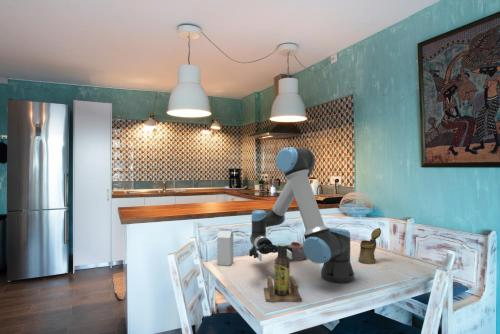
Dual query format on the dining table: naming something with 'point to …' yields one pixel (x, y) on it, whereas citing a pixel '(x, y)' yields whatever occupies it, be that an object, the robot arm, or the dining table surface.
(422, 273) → the dining table surface
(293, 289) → the walnut slotted rack
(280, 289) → the sauce bottle
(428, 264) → the dining table surface
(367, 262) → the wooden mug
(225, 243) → the milk carton
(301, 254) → the food item
